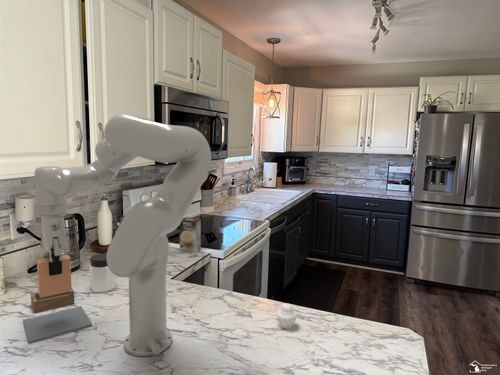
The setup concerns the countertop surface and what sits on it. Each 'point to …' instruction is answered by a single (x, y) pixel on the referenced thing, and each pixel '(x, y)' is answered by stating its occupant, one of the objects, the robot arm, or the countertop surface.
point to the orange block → (53, 277)
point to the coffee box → (190, 234)
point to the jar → (101, 274)
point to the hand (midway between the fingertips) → (54, 271)
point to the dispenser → (51, 301)
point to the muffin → (286, 316)
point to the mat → (56, 324)
